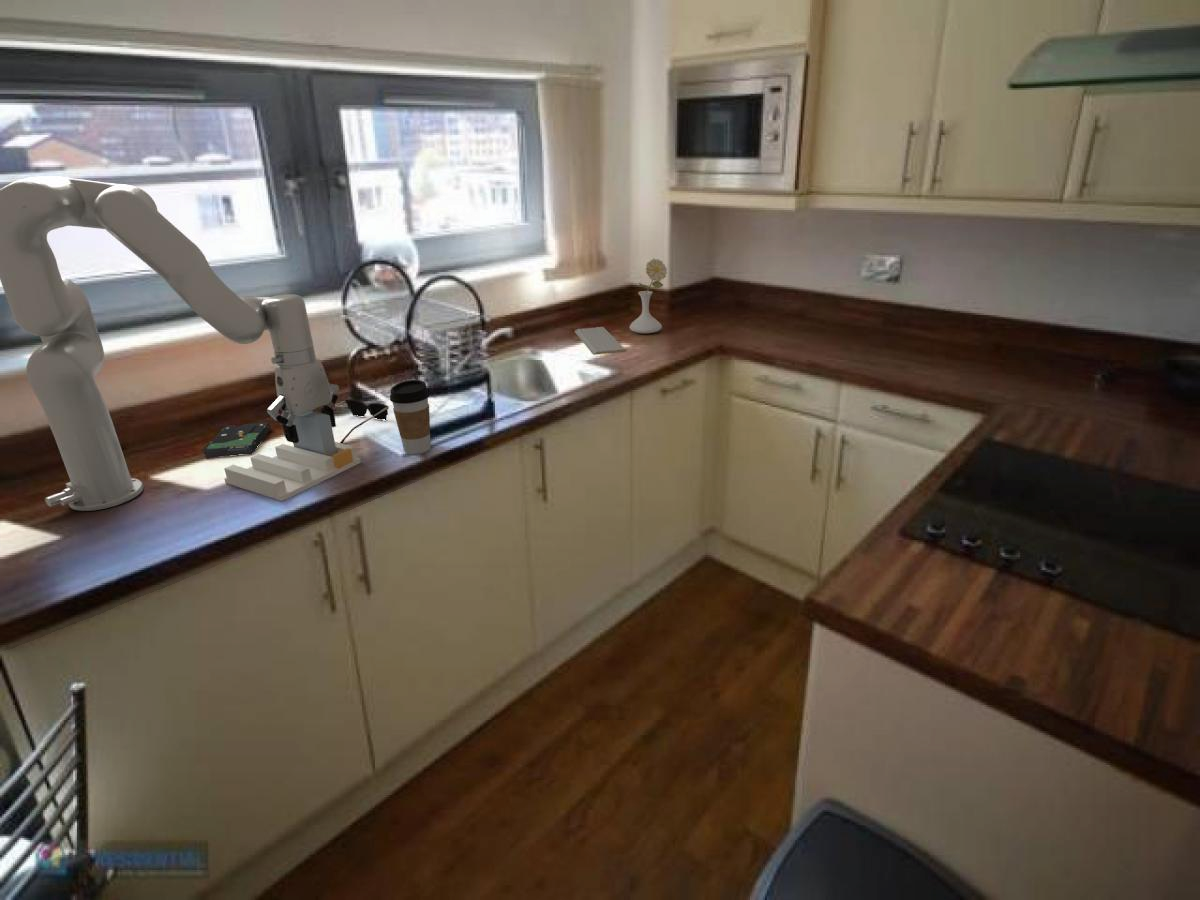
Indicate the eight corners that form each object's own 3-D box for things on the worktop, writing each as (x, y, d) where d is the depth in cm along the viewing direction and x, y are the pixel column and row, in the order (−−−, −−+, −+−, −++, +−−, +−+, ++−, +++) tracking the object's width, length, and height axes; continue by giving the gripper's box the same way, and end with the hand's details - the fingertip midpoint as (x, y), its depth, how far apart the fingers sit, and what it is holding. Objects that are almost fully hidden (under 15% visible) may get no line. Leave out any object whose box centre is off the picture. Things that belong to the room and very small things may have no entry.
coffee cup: (443, 443, 161) (435, 380, 155) (424, 458, 154) (414, 393, 148) (411, 440, 164) (401, 378, 158) (390, 454, 157) (380, 390, 150)
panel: (326, 463, 150) (317, 419, 146) (295, 455, 155) (286, 412, 151) (338, 458, 152) (329, 415, 148) (307, 450, 157) (298, 408, 153)
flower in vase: (631, 336, 242) (630, 262, 232) (627, 328, 253) (626, 257, 243) (669, 334, 243) (669, 260, 233) (663, 326, 254) (664, 255, 244)
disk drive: (227, 436, 172) (205, 460, 158) (224, 425, 171) (202, 448, 157) (271, 432, 173) (253, 455, 159) (269, 421, 172) (251, 444, 158)
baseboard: (588, 357, 224) (625, 353, 226) (588, 348, 223) (625, 344, 225) (570, 333, 252) (603, 330, 254) (570, 325, 250) (603, 322, 253)
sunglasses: (392, 422, 176) (388, 404, 173) (346, 450, 163) (341, 431, 161) (350, 415, 181) (345, 397, 179) (302, 442, 168) (297, 423, 166)
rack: (282, 501, 137) (277, 482, 136) (225, 482, 146) (220, 465, 144) (361, 462, 153) (358, 445, 152) (305, 447, 162) (302, 431, 160)
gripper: (270, 370, 136) (289, 451, 143) (341, 348, 150) (355, 423, 157) (246, 365, 140) (265, 445, 147) (317, 344, 153) (332, 417, 160)
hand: (312, 433), depth 152 cm, fingers open, 9 cm apart
